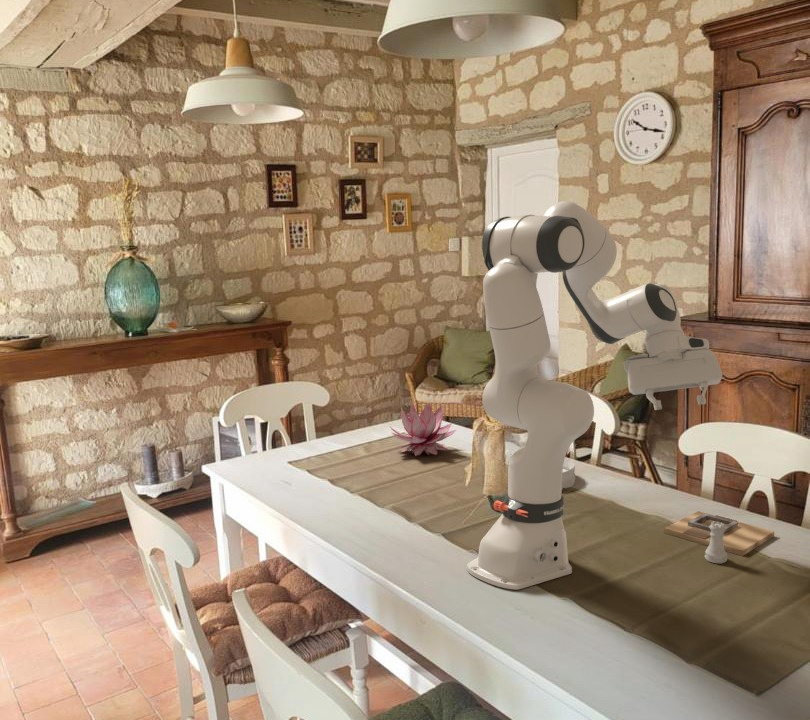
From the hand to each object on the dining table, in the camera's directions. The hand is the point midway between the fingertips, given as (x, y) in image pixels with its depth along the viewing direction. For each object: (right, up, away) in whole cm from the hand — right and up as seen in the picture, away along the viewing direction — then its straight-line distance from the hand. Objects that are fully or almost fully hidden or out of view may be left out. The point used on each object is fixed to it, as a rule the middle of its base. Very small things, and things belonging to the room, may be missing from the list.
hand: (680, 406), depth 165 cm
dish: (-24, -24, +47) cm, 58 cm away
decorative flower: (-56, -20, +76) cm, 96 cm away
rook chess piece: (+4, -32, -9) cm, 33 cm away
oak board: (+10, -30, +4) cm, 32 cm away
